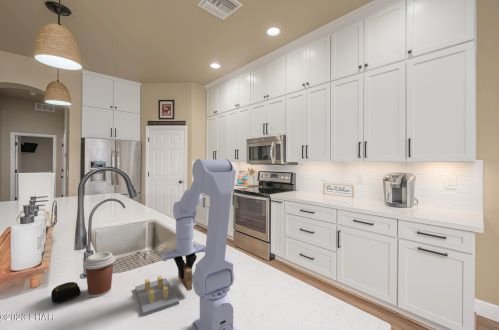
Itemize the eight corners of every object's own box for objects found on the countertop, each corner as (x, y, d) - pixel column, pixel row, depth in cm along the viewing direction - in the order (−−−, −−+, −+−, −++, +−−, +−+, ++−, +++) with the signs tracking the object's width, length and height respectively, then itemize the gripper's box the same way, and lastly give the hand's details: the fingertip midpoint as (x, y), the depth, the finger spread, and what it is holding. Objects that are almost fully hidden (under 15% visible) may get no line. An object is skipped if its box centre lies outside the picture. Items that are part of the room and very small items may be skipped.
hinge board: (179, 303, 70) (179, 290, 70) (143, 316, 64) (143, 301, 64) (165, 280, 83) (165, 269, 83) (135, 289, 78) (135, 277, 78)
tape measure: (52, 308, 68) (52, 295, 68) (50, 298, 73) (50, 286, 73) (80, 298, 73) (80, 286, 73) (77, 289, 78) (77, 278, 77)
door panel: (192, 289, 74) (192, 270, 74) (187, 290, 73) (187, 272, 73) (182, 276, 82) (182, 259, 82) (178, 277, 82) (178, 260, 81)
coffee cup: (118, 282, 82) (118, 249, 82) (112, 296, 73) (111, 259, 73) (89, 286, 79) (88, 252, 79) (78, 301, 71) (78, 263, 70)
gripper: (200, 230, 85) (200, 266, 85) (159, 237, 77) (159, 277, 77) (208, 235, 79) (208, 274, 79) (164, 243, 71) (164, 287, 71)
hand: (184, 276), depth 78 cm, fingers closed on door panel, 2 cm apart
